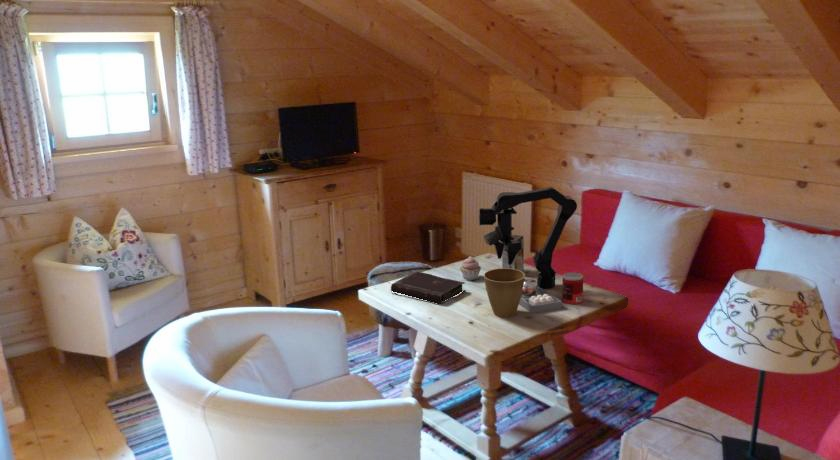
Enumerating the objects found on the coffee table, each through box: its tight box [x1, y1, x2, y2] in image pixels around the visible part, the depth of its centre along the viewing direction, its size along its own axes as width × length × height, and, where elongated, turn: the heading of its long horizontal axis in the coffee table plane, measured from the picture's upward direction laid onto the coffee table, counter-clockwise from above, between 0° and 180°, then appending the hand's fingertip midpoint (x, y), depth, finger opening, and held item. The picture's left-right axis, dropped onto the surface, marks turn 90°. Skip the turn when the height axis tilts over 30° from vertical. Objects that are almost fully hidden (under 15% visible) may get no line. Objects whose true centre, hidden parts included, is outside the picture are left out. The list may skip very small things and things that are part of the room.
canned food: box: [561, 272, 584, 305], centre depth 253 cm, size 8×8×11 cm
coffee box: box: [501, 234, 525, 272], centre depth 290 cm, size 9×6×16 cm
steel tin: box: [521, 278, 537, 299], centre depth 258 cm, size 6×6×7 cm
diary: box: [390, 271, 466, 305], centre depth 271 cm, size 19×25×5 cm
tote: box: [518, 284, 563, 314], centre depth 255 cm, size 13×21×4 cm, turn 19°
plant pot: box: [483, 267, 526, 318], centre depth 243 cm, size 15×15×16 cm
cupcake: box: [459, 255, 482, 281], centre depth 285 cm, size 9×9×10 cm
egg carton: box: [529, 294, 554, 305], centre depth 249 cm, size 8×5×4 cm, turn 109°
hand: (504, 261), depth 268 cm, fingers open, 9 cm apart
